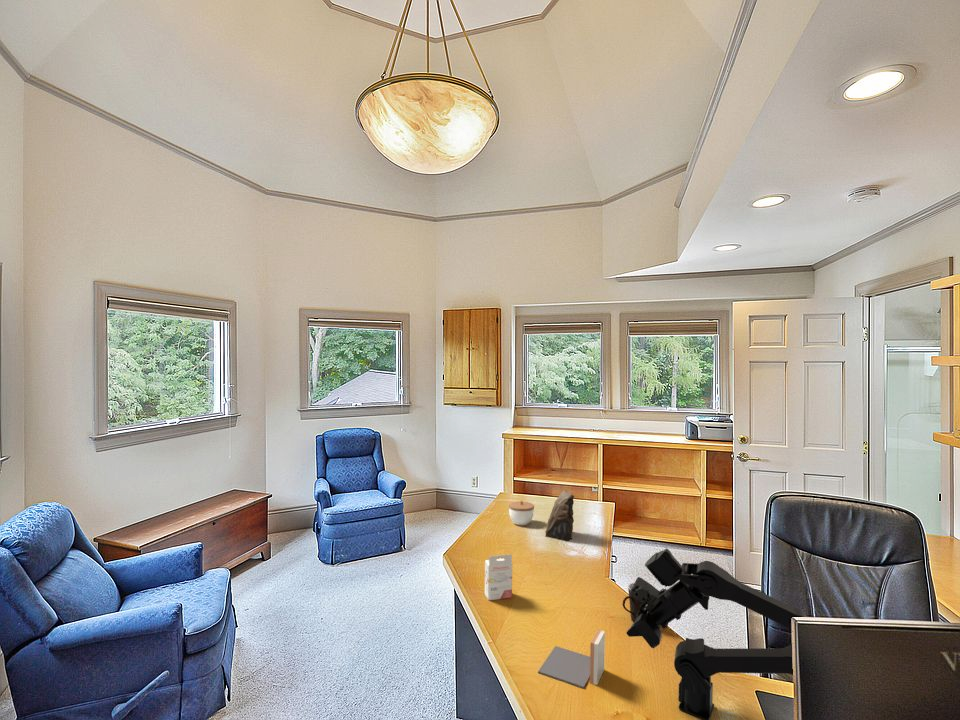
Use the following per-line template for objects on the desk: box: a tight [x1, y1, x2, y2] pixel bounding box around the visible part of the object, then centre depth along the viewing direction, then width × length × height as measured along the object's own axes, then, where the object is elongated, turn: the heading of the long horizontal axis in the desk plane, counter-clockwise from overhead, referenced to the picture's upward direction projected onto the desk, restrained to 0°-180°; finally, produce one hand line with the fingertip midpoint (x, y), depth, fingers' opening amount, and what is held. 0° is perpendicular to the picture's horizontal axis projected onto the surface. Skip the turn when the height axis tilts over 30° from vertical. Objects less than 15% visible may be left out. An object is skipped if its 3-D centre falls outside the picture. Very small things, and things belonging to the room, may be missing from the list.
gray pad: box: [537, 645, 590, 689], centre depth 128 cm, size 12×13×1 cm
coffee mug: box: [622, 582, 647, 623], centre depth 152 cm, size 12×9×10 cm
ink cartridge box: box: [484, 553, 513, 601], centre depth 166 cm, size 9×5×15 cm, turn 105°
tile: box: [589, 629, 606, 686], centre depth 124 cm, size 2×7×10 cm, turn 151°
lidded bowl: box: [508, 500, 535, 526], centre depth 243 cm, size 13×13×11 cm
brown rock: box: [544, 489, 575, 542], centre depth 225 cm, size 13×13×20 cm
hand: (627, 634), depth 121 cm, fingers closed
